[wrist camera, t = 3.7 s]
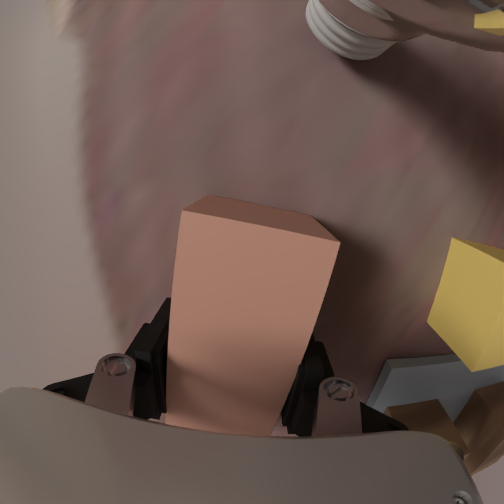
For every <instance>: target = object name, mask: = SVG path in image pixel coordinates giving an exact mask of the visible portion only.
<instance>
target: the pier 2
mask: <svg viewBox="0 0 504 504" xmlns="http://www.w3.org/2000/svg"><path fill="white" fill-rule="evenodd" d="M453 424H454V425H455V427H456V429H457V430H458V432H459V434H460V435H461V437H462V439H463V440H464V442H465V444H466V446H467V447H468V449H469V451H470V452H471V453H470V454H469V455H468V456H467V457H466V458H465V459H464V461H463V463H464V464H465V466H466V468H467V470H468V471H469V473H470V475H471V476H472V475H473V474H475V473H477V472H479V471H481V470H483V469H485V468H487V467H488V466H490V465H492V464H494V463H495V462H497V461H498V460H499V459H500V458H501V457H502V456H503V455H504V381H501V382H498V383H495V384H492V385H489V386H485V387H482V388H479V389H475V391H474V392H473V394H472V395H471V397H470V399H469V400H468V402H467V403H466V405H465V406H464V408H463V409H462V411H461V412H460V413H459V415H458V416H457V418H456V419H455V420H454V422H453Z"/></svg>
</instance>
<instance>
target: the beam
mask: <svg viewBox="0 0 504 504" xmlns="http://www.w3.org/2000/svg"><path fill="white" fill-rule="evenodd" d="M340 243H341V242H339V241H338V240H337V239H336V238H335V237H334V236H333V235H332V234H331V233H330V232H329V231H327V230H326V229H325V228H324V227H323V226H322V225H321V224H320V223H318V222H317V221H316V220H315V219H314V218H313V217H312V216H310V215H305V214H301V213H296V212H292V211H287V210H283V209H278V208H273V207H268V206H264V205H259V204H254V203H249V202H244V201H239V200H234V199H228V198H223V197H218V196H212V195H207V196H205V197H203V198H202V199H200V200H198V201H197V202H195V203H193V204H192V205H190V206H188V207H187V208H185V209H183V210H182V214H181V221H180V228H179V235H178V243H177V251H176V259H175V267H174V277H173V286H172V297H171V308H170V321H169V336H168V353H167V377H166V407H167V412H166V424H169V425H174V426H180V427H185V428H192V429H198V430H205V431H213V432H221V433H231V434H242V435H256V436H270V435H271V433H272V431H273V428H274V426H275V424H276V422H277V420H278V417H279V415H280V413H281V410H282V408H283V406H284V403H285V401H286V399H287V396H288V394H289V392H290V389H291V387H292V384H293V382H294V379H295V377H296V373H297V370H298V366H299V365H300V364H301V361H302V359H303V356H304V353H305V351H306V348H307V345H308V343H309V340H310V337H311V334H312V331H313V329H314V326H315V323H316V320H317V317H318V314H319V311H320V308H321V305H322V302H323V299H324V296H325V293H326V290H327V287H328V283H329V280H330V277H331V274H332V270H333V267H334V264H335V260H336V257H337V253H338V250H339V246H340Z"/></svg>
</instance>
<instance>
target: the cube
mask: <svg viewBox="0 0 504 504" xmlns="http://www.w3.org/2000/svg"><path fill="white" fill-rule="evenodd" d="M427 323H428V324H429V325H430V326H431V327H432V328H433V329H434V330H435V332H436V333H437V334H438V335H439V336H440V337H441V338H442V339H443V340H444V341H445V342H446V344H447V345H448V346H449V347H450V348H451V349H452V350H453V351H454V352H455V354H456V355H457V356H458V357H459V358H460V359H461V360H462V361H463V363H464V364H465V365H466V366H467V367H468V368H469V370H470V371H471V372H475V371H479V370H484V369H488V368H492V367H496V366H500V365H504V250H503V249H501V248H497V247H492V246H488V245H484V244H480V243H475V242H471V241H466V240H462V239H457V238H452V240H451V244H450V248H449V252H448V256H447V260H446V264H445V267H444V271H443V274H442V278H441V281H440V284H439V287H438V290H437V294H436V297H435V299H434V302H433V305H432V308H431V311H430V314H429V316H428V319H427Z"/></svg>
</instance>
